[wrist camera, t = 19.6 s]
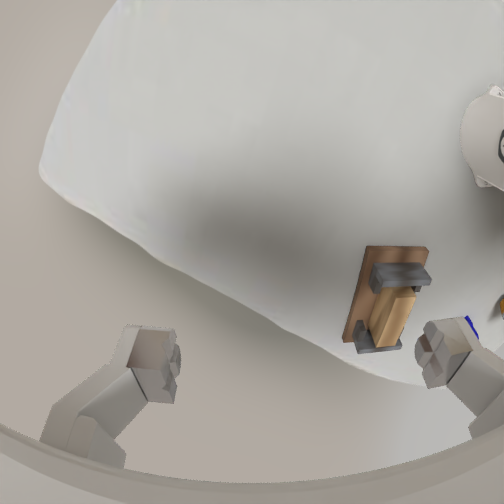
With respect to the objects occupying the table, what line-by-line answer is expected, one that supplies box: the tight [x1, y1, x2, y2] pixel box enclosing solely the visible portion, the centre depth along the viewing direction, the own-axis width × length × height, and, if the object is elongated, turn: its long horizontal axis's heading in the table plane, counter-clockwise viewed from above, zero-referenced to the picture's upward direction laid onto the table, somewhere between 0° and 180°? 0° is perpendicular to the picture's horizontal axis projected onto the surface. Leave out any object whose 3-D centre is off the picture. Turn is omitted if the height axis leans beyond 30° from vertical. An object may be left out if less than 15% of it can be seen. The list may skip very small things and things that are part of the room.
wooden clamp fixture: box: [342, 246, 432, 354], centre depth 50 cm, size 12×22×6 cm, turn 0°
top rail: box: [368, 286, 416, 347], centre depth 49 cm, size 4×12×6 cm, turn 0°
